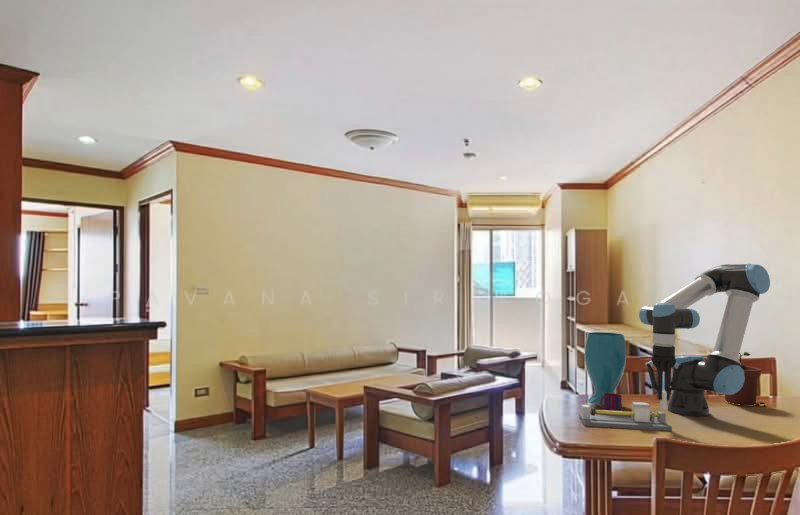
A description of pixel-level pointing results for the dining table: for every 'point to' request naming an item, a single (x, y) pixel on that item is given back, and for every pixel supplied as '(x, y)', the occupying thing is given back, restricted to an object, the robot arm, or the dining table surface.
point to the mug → (611, 402)
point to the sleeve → (641, 411)
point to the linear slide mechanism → (622, 419)
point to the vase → (604, 362)
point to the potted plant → (746, 386)
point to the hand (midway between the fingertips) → (663, 408)
